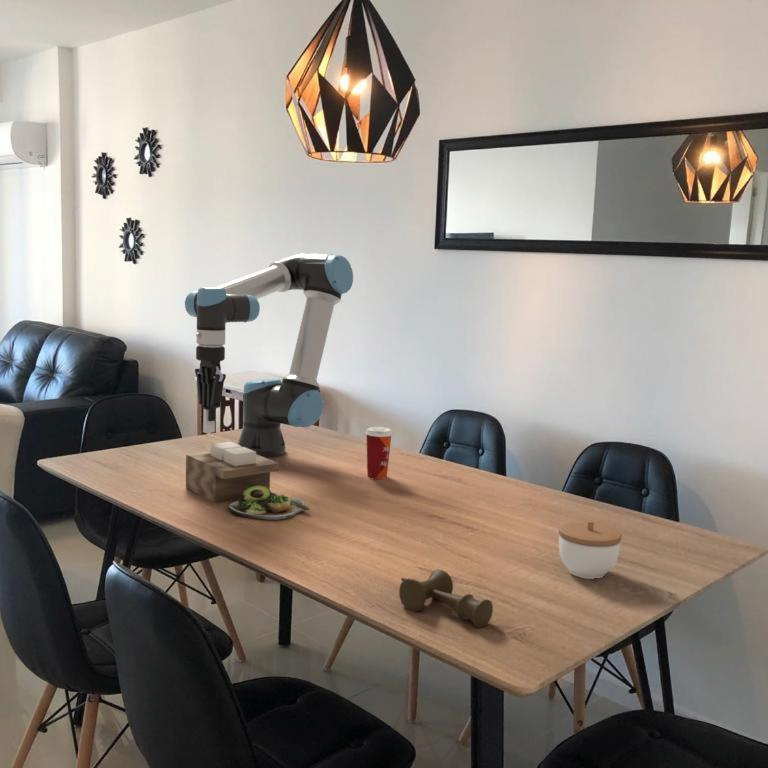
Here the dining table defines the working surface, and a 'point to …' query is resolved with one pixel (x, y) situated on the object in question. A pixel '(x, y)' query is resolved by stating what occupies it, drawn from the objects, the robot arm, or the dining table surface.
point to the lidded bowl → (588, 548)
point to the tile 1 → (221, 449)
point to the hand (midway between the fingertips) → (208, 432)
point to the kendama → (444, 597)
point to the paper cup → (378, 451)
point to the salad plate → (266, 504)
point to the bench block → (225, 476)
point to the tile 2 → (239, 456)
